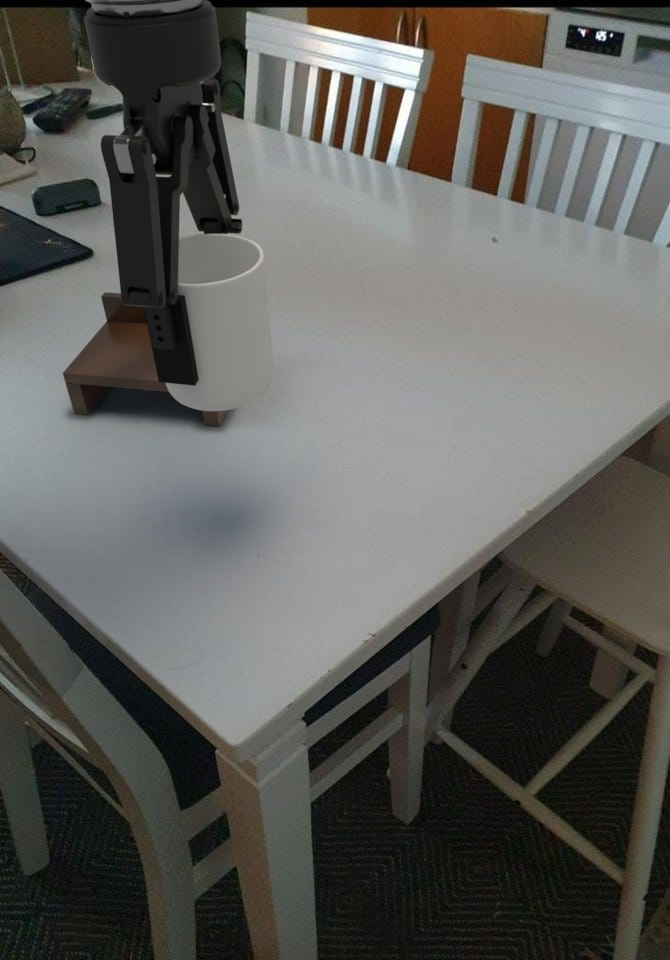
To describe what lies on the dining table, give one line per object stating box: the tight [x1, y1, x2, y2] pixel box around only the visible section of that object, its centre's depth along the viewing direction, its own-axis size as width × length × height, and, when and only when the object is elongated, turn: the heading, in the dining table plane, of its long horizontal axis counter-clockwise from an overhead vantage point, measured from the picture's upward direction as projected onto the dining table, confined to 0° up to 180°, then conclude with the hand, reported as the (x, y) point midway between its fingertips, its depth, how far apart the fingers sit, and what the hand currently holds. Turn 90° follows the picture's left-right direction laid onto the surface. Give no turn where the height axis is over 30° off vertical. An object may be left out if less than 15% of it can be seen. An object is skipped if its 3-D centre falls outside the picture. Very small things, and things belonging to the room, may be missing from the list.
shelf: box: [62, 292, 229, 428], centre depth 86 cm, size 16×12×8 cm
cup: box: [166, 233, 275, 411], centre depth 60 cm, size 8×12×10 cm
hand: (201, 346), depth 61 cm, fingers closed on cup, 9 cm apart
